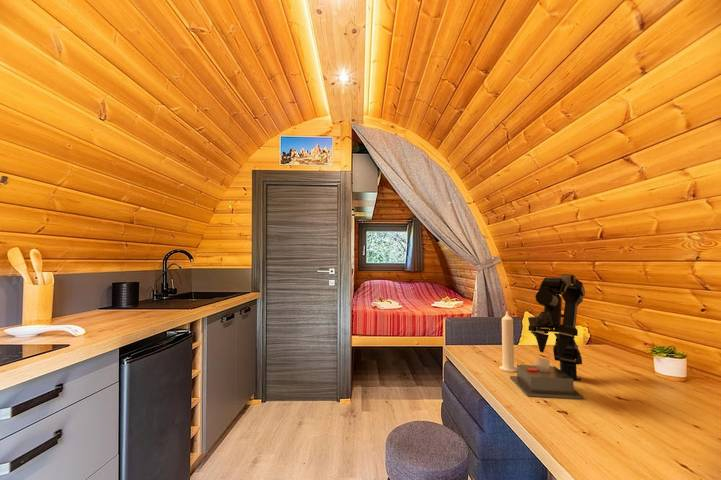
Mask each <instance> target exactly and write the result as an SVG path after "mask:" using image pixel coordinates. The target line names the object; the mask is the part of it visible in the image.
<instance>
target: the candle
mask: <svg viewBox="0 0 721 480" xmlns="http://www.w3.org/2000/svg"><path fill="white" fill-rule="evenodd" d="M501 343H502V344H501V345H502V347H501V348H502V349H501V350H502V353H501V354H502V356H501V357H502V365H500V366H499V370H501V371H503V372H506V373H517V366H516V367H515V350H514V349H515V348H514V347H515V346H514V343H515V341H514V319H513V318H512V317H511V316H510V314H509V311H508V310H507V311H506V313H505V315H504V316H503V317H502V318H501Z"/></svg>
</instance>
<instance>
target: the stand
mask: <svg viewBox="0 0 721 480" xmlns="http://www.w3.org/2000/svg"><path fill="white" fill-rule="evenodd" d="M516 368H517V372H516V375H510V376H509V379H510V380H511V381H512V382H513V383H514V384H515V385H516V387H518V388H519V389H520V390H521V392H522V393H523V394H524V395H525V396H526V397H528V398H530V397H531V398H549V399H550V398H551V399H568V400H569V399H571V400H573V399H574V400H584V395H582V394H581V393H580V392H578V391H577V390H575V388H574V385H575V384H574V380H573V378H571V377H570V376H568V375H567V374H565V373H564V372H562V371H561V370H560V368H558V367H556V366H555V365H554V366H553V365H550V373H539V372H538V370H537V365H534V364H533V365H531V364H529V365H528V364H517V365H516Z"/></svg>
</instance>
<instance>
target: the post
mask: <svg viewBox="0 0 721 480" xmlns="http://www.w3.org/2000/svg"><path fill="white" fill-rule="evenodd" d="M536 366H537V370H538V372H539V373H550V366H551V365H550V359H548V358H547V357H536Z"/></svg>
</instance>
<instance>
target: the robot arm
mask: <svg viewBox="0 0 721 480" xmlns="http://www.w3.org/2000/svg"><path fill="white" fill-rule="evenodd" d="M585 295H586V289H585V286H584V284H583V282H582V281H580V280H579V279H578V278H577V277H576V275H575V274H570V273H569V274H565V273H564V274H563V273H562V274H560V275H558V276H557V277H550V276H549V277H547V276H545V277H543V280H542V281H541V283H540V285H539V288H538V291H537V292H536V293H535V301H536V303H538V304H539V305H541V306H542V307H543V311H540V312H539V313H540V314H538V315H533V316H529V317H527V320H528V324H529V325H528V330H527V331H529V332H530V334H532V335H533V336H534V337H535V339H536V343H537V346H538V350H539V353H544V352H545V350H546V349H545V348H546V346H547V343H548V339H549V336H550V335H549V333H553V335H554V336H555V343H554V345H553V349H552V350H553V351H552V352H553V357H554V361H558V362H559V370H561V371H562V372H564V373H565V374H567V375H568V376H570V377H571V378H573V381H576V380H577V381H578V380H579V381H581V379H582V378H580V377H579V376H578V375H577V374H578V372H577V371H578V370H577V366H578V365H583V359H582V353H581V352H580V350H579V345H578V344H577V342H576V340H575V337H578V333H579V332H578V331H579V330H578V328H577V327H576V326H577V316H578V315H577V314H578V306H579V305H581V304H582V302H583V301H584V297H585ZM563 301H564V308H563ZM562 308H563V310H562ZM562 311H563V313H562ZM562 318H563V319H562Z"/></svg>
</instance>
